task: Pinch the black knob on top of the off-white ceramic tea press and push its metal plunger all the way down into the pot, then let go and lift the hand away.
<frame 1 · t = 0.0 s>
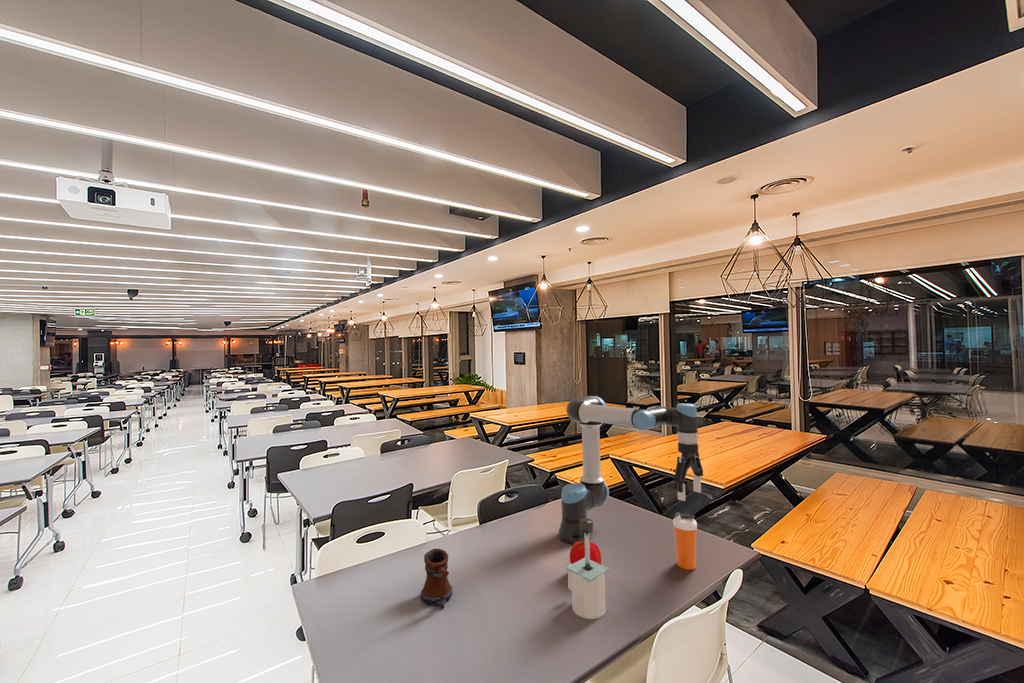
hand: (689, 495, 161), 28 cm above the table, fingers open, 13 cm apart
tomato: (585, 575, 156), on the table
press pot: (588, 608, 135), on the table
mug: (439, 601, 141), on the table
shaker bottle: (686, 565, 162), on the table
plunger: (587, 548, 136), point 20 cm above the table, slide at 0.0 cm
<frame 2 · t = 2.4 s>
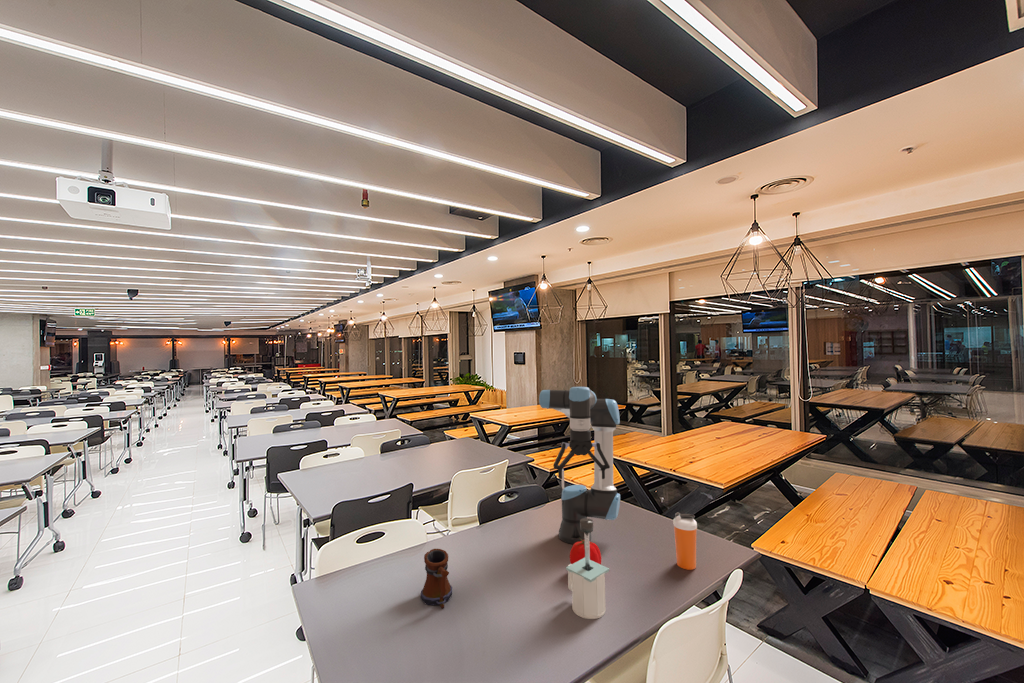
hand: (581, 487, 147), 37 cm above the table, fingers open, 13 cm apart
nothing on the table moved.
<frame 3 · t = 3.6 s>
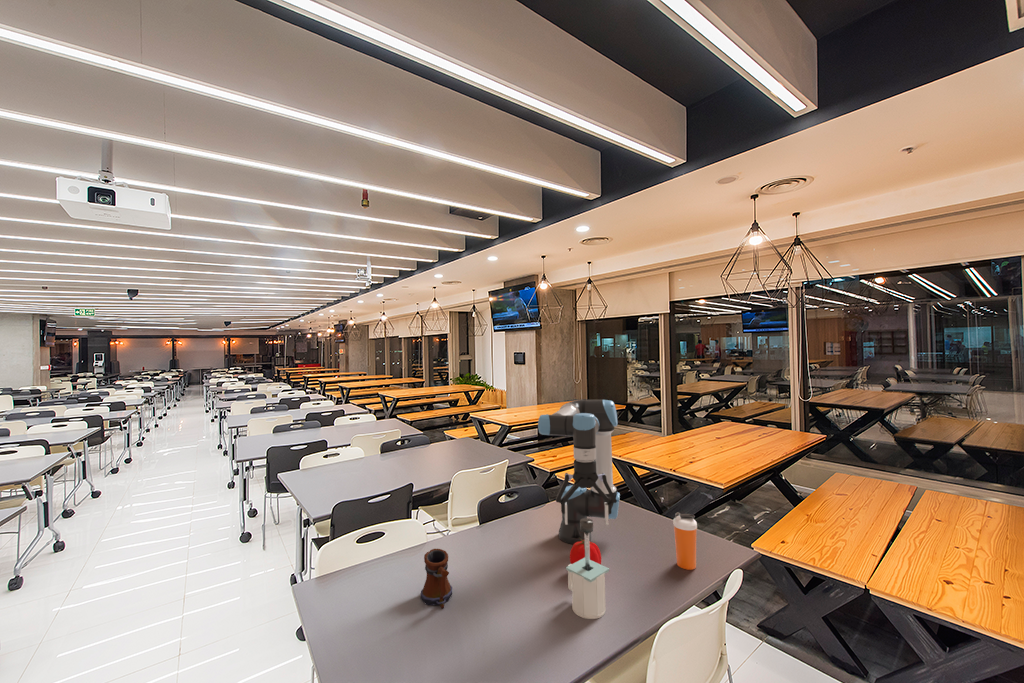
hand: (586, 523, 136), 28 cm above the table, fingers open, 13 cm apart
nothing on the table moved.
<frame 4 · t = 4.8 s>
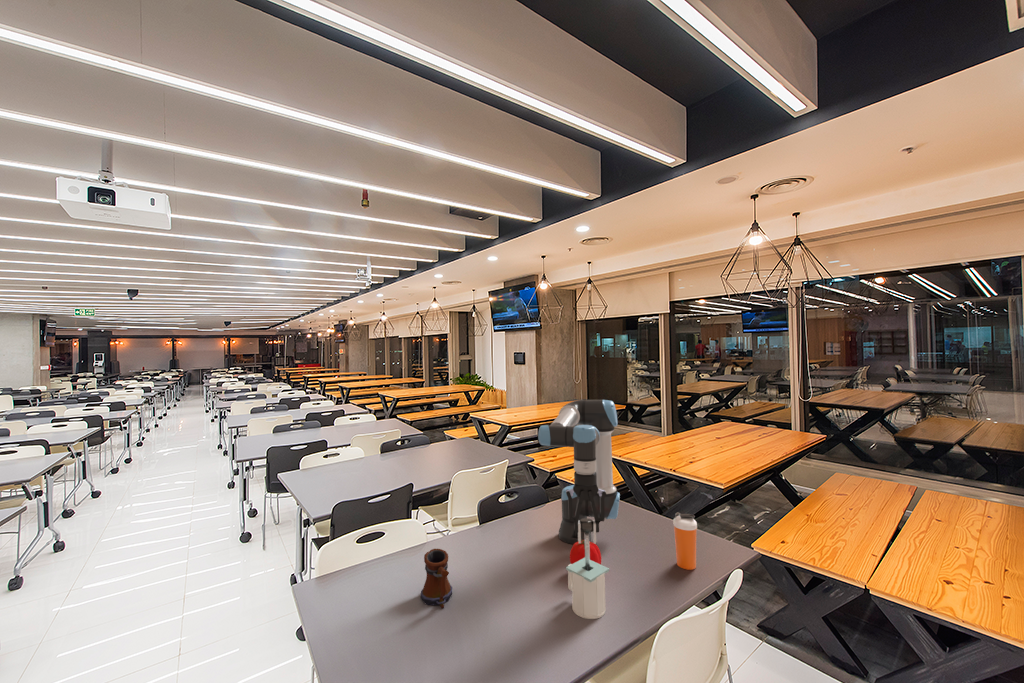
hand: (587, 541, 136), 22 cm above the table, fingers closed on plunger, 4 cm apart
plunger: (587, 548, 136), point 20 cm above the table, slide at 0.0 cm, touching gripper
everything else where it was.
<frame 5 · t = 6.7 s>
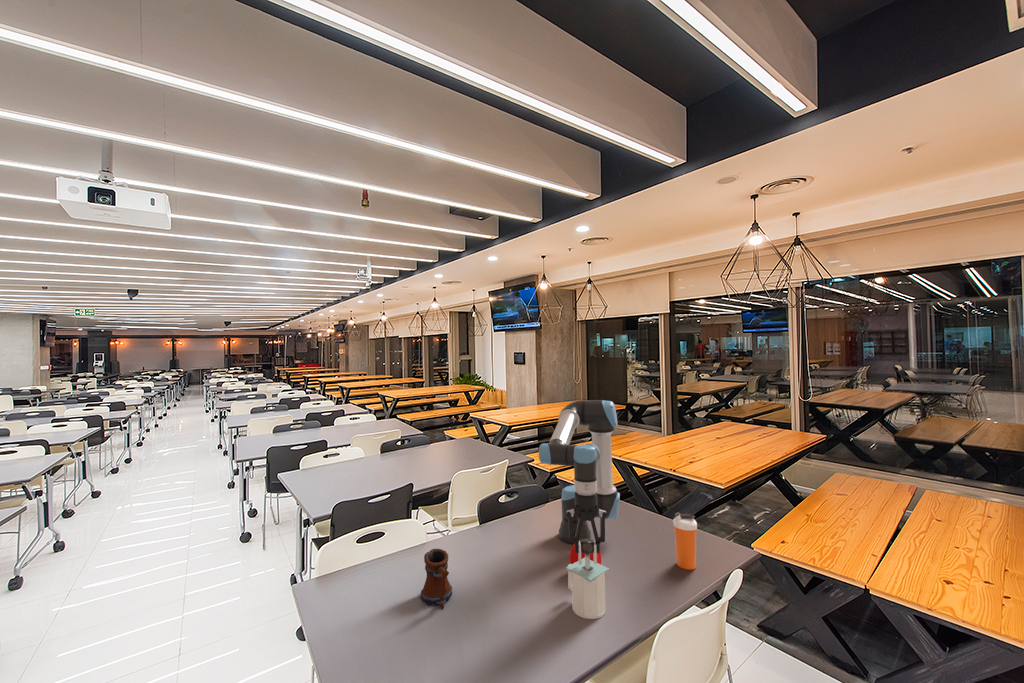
hand: (587, 562, 136), 15 cm above the table, fingers closed on plunger, 4 cm apart
plunger: (587, 569, 136), point 13 cm above the table, slide at 6.8 cm, touching gripper
everything else where it was.
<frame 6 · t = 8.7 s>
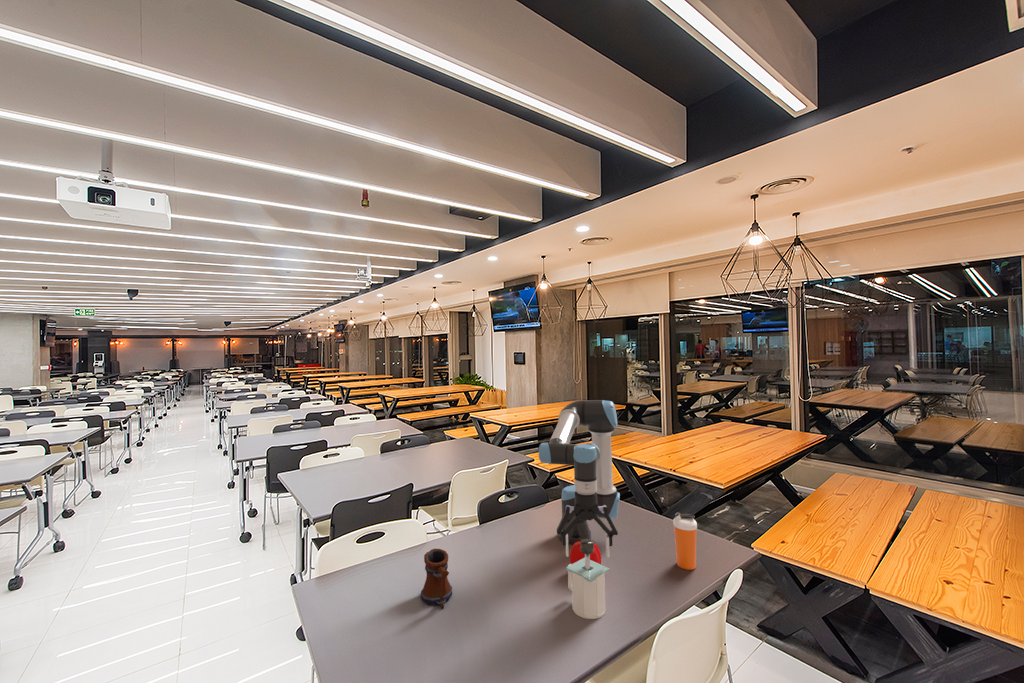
hand: (587, 555, 136), 18 cm above the table, fingers open, 13 cm apart
plunger: (587, 569, 135), point 13 cm above the table, slide at 6.9 cm
everything else where it was.
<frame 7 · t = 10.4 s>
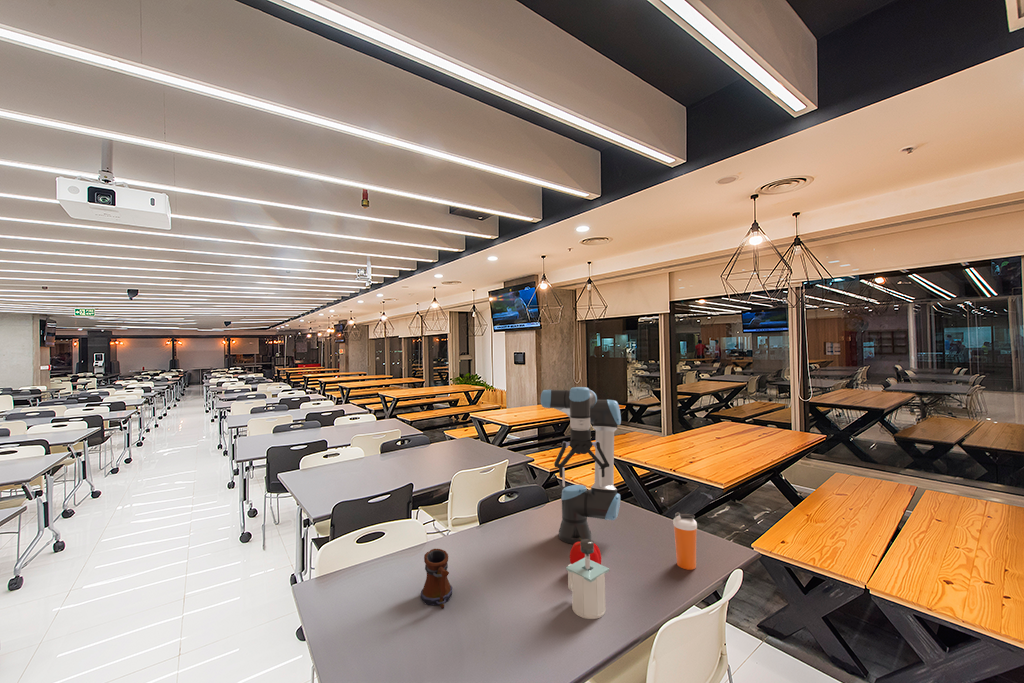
hand: (582, 485, 150), 36 cm above the table, fingers open, 13 cm apart
nothing on the table moved.
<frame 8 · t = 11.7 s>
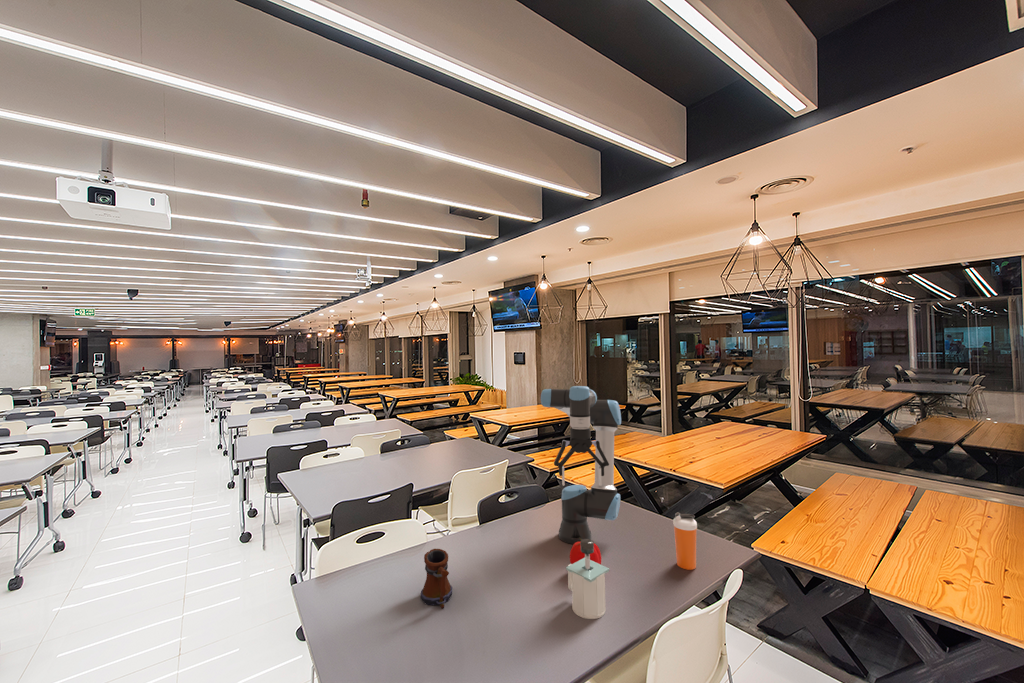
hand: (581, 484, 151), 37 cm above the table, fingers open, 13 cm apart
nothing on the table moved.
at the end: plunger slide at 6.9 cm; the gripper is holding nothing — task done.
